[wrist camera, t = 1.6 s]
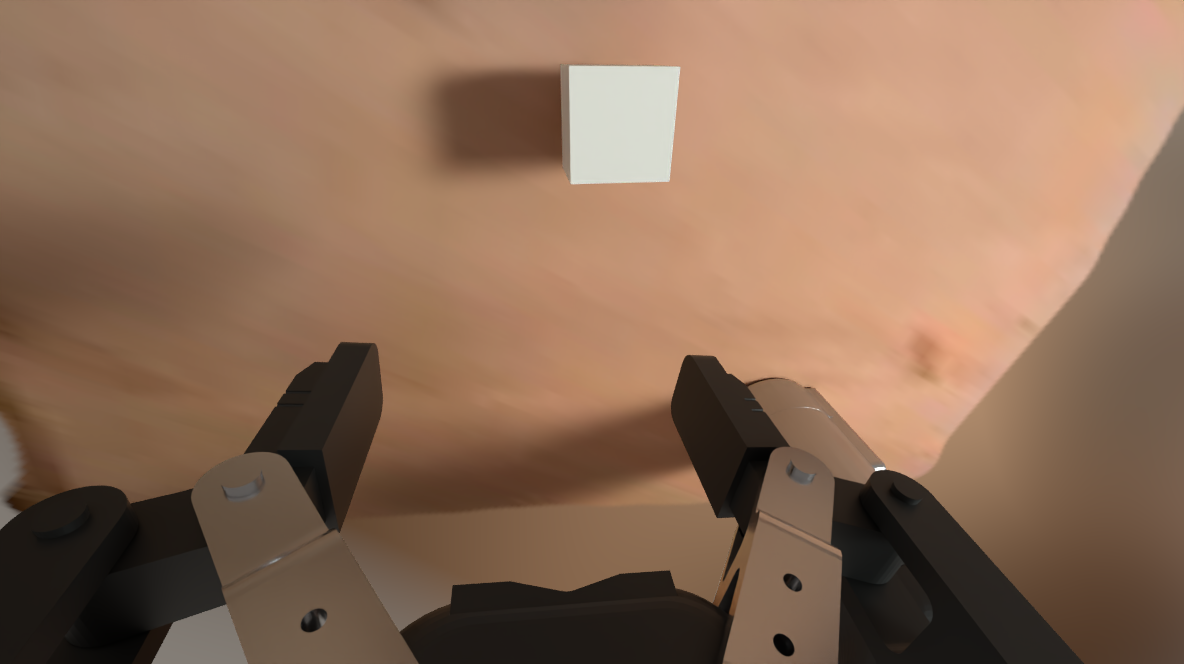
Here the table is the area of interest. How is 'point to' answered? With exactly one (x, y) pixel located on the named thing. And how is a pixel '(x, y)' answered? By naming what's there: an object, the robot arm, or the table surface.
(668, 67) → the plug
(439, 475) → the table surface
